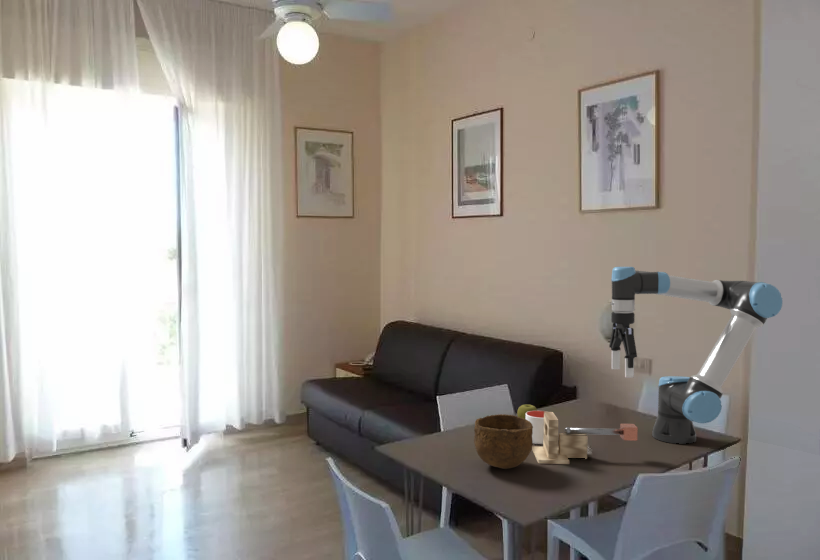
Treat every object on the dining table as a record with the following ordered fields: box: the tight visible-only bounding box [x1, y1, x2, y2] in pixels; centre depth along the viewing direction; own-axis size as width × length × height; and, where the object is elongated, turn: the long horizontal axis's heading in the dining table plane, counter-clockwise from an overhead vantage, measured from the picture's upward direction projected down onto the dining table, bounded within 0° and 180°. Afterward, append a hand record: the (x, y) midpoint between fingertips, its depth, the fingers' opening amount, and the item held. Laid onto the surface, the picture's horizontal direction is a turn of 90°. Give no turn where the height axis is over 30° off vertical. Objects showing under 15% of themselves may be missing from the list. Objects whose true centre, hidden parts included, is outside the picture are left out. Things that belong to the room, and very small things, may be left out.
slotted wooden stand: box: [531, 411, 589, 465], centre depth 217 cm, size 17×14×14 cm
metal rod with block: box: [563, 423, 639, 442], centre depth 216 cm, size 24×4×4 cm, turn 88°
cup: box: [525, 410, 547, 445], centre depth 234 cm, size 10×10×10 cm
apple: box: [516, 404, 538, 419], centre depth 257 cm, size 8×8×7 cm
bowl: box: [473, 413, 533, 470], centre depth 207 cm, size 19×19×15 cm
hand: (622, 373), depth 222 cm, fingers open, 13 cm apart
